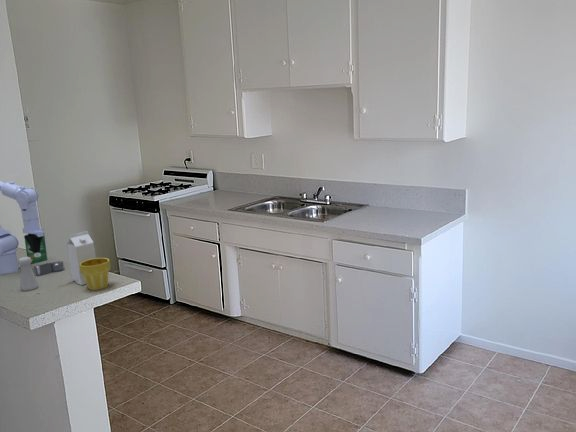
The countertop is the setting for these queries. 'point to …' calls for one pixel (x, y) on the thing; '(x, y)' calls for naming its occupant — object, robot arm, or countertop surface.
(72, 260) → the milk carton
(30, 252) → the coffee box
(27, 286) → the salt shaker
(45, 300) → the countertop surface
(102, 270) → the plant pot
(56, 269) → the knob
